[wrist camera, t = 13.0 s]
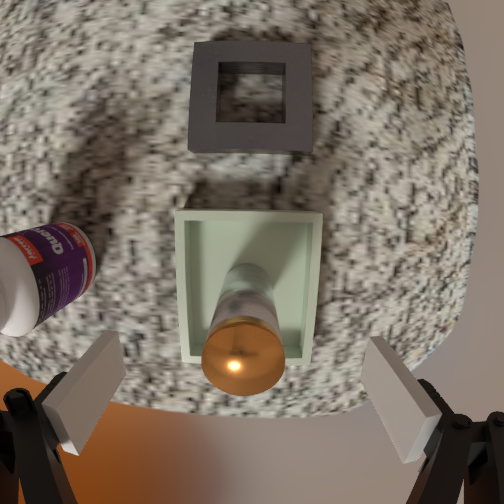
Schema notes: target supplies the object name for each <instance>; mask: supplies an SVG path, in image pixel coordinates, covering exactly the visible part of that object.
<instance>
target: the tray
mask: <svg viewBox="0 0 504 504" xmlns="http://www.w3.org/2000/svg"><path fill="white" fill-rule="evenodd" d="M322 223H323V213H320V212H317V211H301V210H270V209H210V208H183V209H179V210H175V256H176V282H177V301H178V316H179V330H180V342H181V354H182V362H185V363H200V364H201V356H202V352H203V348H204V345H205V342H206V338H207V335H208V331H209V328H210V325H211V321H212V318H213V315H214V311H215V308H216V305H217V301H218V298H219V295H220V292H221V288H222V285H223V282H224V279H225V276H226V274H227V273H228V272H229V271H230V270H231V269H232V268H233V267H235V266H237V265H239V264H243V263H251V264H255V265H258V266H260V267H261V268H263V269H264V270H265V271H266V272H267V274H268V275H269V277H270V280H271V285H272V290H273V296H274V301H275V306H276V312H277V317H278V322H279V328H280V333H281V339H282V344H283V349H284V355H285V366H291V365H310V360H311V352H312V344H313V335H314V326H315V316H316V306H317V295H318V284H319V271H320V257H321V242H322Z"/></svg>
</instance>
